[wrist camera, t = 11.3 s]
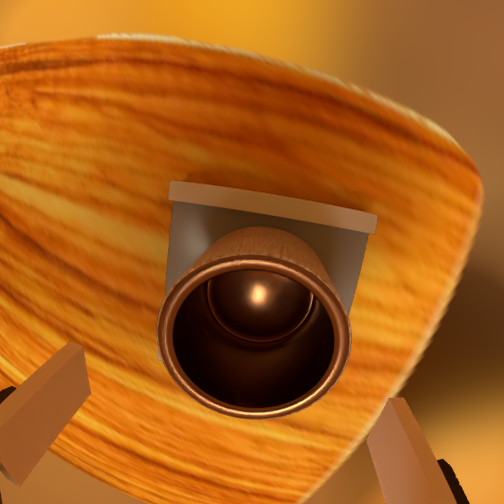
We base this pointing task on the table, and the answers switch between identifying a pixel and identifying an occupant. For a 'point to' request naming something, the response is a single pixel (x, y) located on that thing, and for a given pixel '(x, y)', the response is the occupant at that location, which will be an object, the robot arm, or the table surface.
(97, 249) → the table surface
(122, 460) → the table surface
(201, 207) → the grey square tray
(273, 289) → the planter
